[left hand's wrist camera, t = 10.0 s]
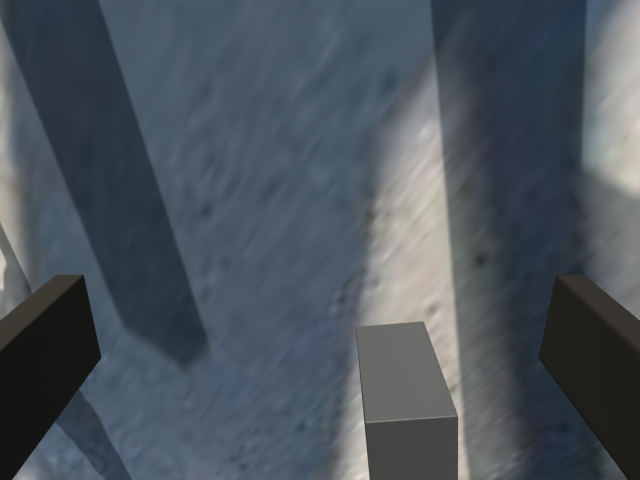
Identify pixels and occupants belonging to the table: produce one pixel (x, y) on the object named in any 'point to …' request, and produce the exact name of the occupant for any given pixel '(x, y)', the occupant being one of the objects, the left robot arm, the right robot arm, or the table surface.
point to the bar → (406, 405)
